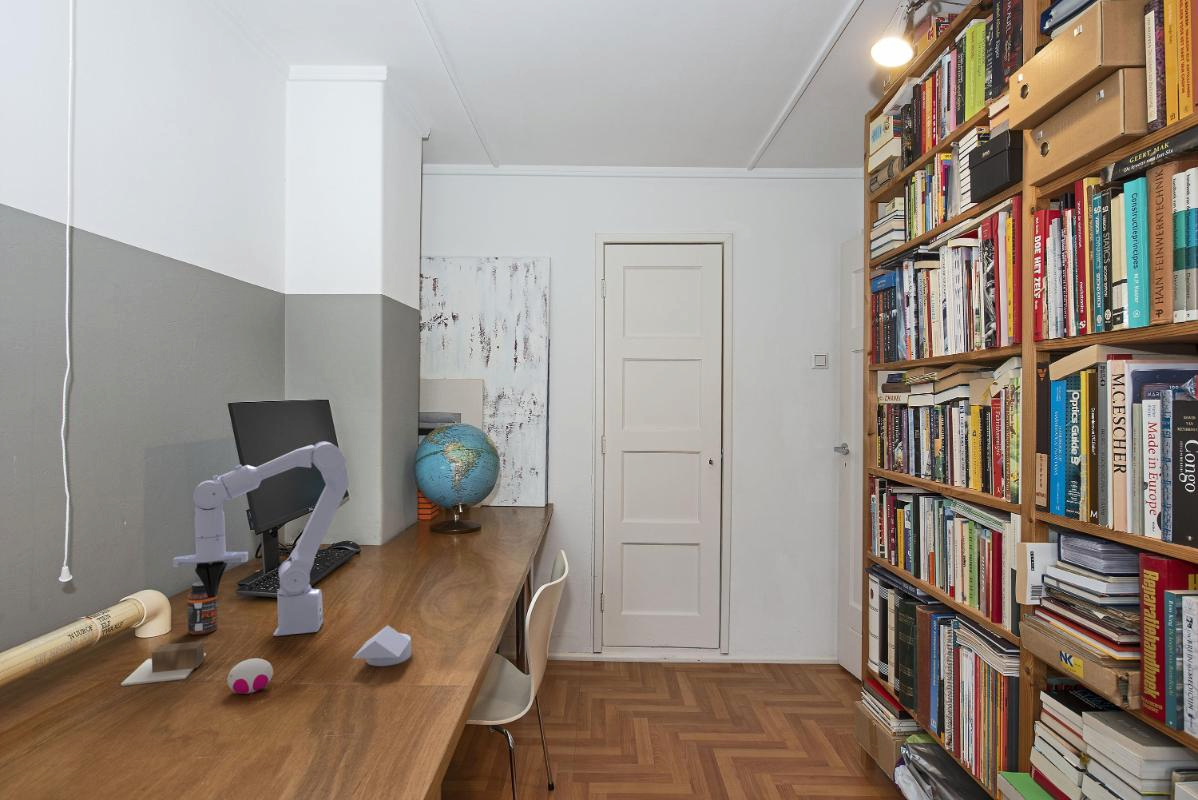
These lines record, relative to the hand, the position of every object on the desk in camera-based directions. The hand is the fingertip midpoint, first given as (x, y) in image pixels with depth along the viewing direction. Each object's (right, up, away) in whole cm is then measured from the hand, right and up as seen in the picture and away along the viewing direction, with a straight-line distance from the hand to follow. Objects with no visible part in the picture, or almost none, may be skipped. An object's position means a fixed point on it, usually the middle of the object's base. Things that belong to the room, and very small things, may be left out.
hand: (212, 596), depth 149 cm
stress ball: (+21, -11, -25) cm, 34 cm away
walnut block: (+4, -8, -12) cm, 15 cm away
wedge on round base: (+42, -10, -12) cm, 45 cm away
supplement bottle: (-7, -11, +8) cm, 15 cm away
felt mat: (-2, -11, -14) cm, 17 cm away
